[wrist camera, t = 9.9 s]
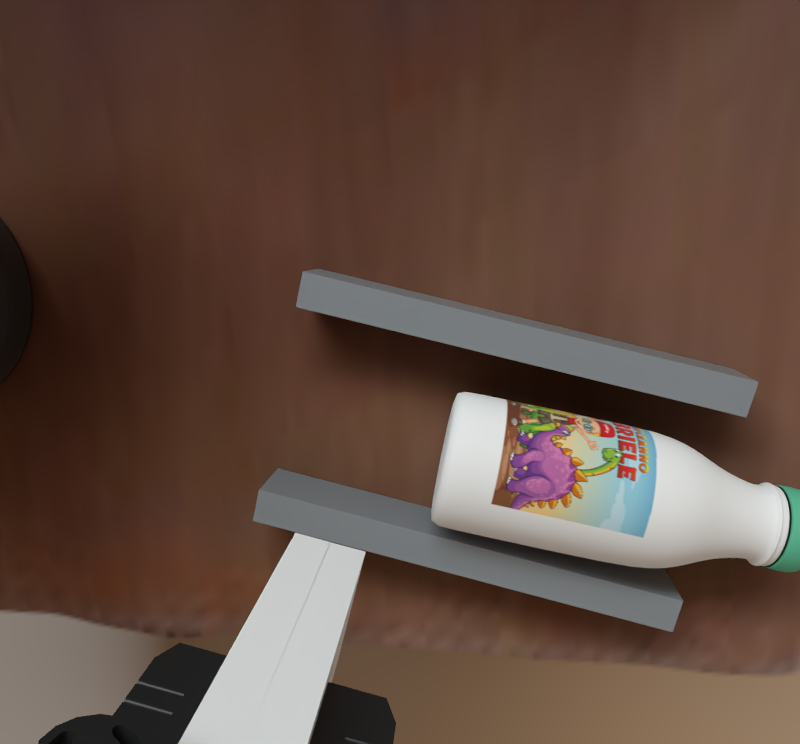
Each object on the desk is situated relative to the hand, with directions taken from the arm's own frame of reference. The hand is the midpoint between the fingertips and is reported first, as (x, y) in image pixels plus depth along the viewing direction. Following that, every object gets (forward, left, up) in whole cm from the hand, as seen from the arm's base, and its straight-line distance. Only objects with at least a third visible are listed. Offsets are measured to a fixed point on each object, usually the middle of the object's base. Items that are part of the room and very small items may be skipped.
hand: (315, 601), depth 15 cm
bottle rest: (+5, -3, -29) cm, 30 cm away
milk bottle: (+2, -4, -25) cm, 26 cm away
